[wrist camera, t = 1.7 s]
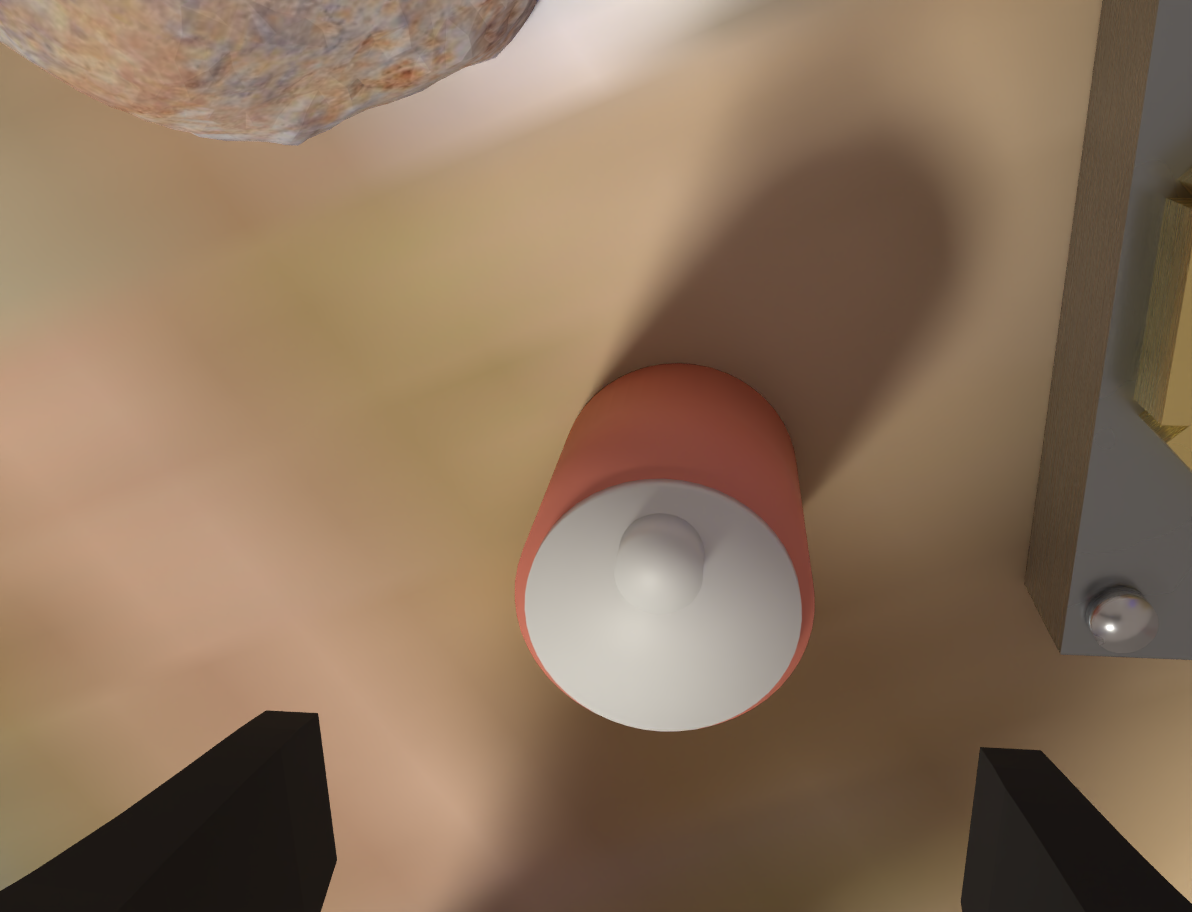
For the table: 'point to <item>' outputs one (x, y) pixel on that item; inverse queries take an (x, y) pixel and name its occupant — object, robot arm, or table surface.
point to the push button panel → (1124, 359)
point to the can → (670, 553)
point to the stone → (256, 56)
